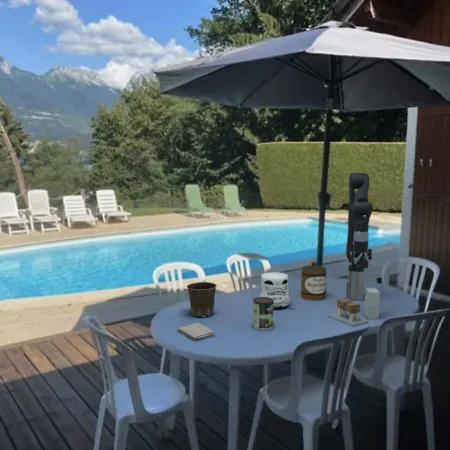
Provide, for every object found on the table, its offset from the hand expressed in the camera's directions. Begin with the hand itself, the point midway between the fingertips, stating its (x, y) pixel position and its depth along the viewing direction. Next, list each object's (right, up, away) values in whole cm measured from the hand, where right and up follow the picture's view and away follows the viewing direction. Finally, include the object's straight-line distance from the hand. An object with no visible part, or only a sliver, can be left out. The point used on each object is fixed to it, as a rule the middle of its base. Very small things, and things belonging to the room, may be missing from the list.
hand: (359, 269), depth 261 cm
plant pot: (-84, -26, +9) cm, 89 cm away
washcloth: (-86, -31, -20) cm, 93 cm away
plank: (-7, -21, -4) cm, 22 cm away
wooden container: (-18, -21, +38) cm, 47 cm away
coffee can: (-52, -28, -11) cm, 60 cm away
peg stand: (-7, -26, -3) cm, 27 cm away
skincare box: (+7, -26, +1) cm, 27 cm away
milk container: (-43, -23, +22) cm, 54 cm away
